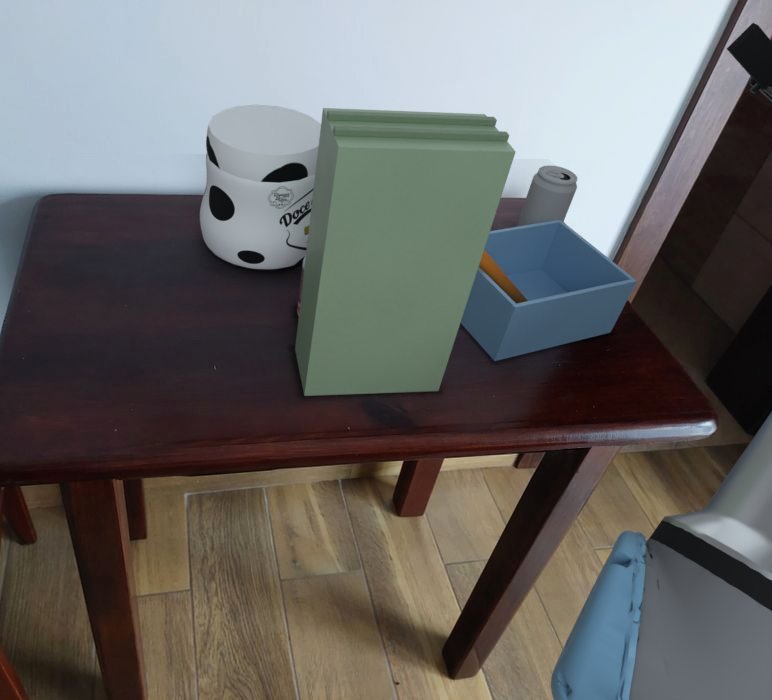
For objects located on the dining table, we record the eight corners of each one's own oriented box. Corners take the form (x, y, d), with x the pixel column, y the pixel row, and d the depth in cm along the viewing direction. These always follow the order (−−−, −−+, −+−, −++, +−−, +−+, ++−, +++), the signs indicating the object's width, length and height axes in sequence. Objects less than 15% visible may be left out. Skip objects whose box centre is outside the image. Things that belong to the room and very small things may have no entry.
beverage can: (550, 259, 104) (579, 188, 96) (509, 247, 105) (533, 177, 97) (554, 239, 108) (582, 170, 100) (514, 228, 109) (538, 159, 101)
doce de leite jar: (328, 282, 93) (346, 161, 81) (201, 282, 90) (200, 157, 78) (310, 216, 106) (323, 103, 94) (198, 215, 103) (197, 98, 91)
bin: (610, 332, 91) (637, 281, 85) (494, 361, 84) (515, 307, 79) (540, 269, 101) (560, 219, 95) (431, 290, 94) (446, 238, 89)
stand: (420, 346, 85) (487, 107, 65) (438, 391, 79) (518, 145, 59) (294, 349, 82) (323, 101, 62) (304, 396, 76) (339, 139, 56)
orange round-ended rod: (519, 311, 92) (529, 302, 92) (525, 318, 91) (536, 310, 90) (442, 224, 80) (454, 214, 80) (448, 232, 79) (460, 222, 79)
